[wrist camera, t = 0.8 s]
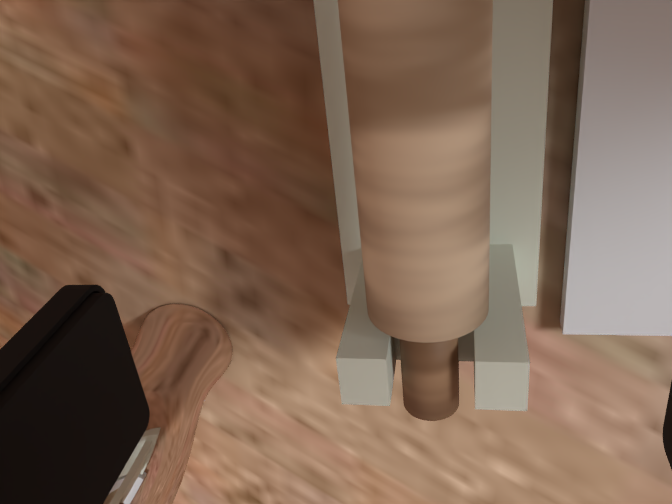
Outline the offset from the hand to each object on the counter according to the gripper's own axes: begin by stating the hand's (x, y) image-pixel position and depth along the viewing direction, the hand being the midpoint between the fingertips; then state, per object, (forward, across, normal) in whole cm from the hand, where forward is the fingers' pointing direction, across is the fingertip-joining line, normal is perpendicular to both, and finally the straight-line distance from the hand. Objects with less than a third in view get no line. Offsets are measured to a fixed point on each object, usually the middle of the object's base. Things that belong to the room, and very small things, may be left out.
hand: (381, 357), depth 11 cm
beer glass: (+22, +16, +17) cm, 32 cm away
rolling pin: (+16, 0, 0) cm, 16 cm away
